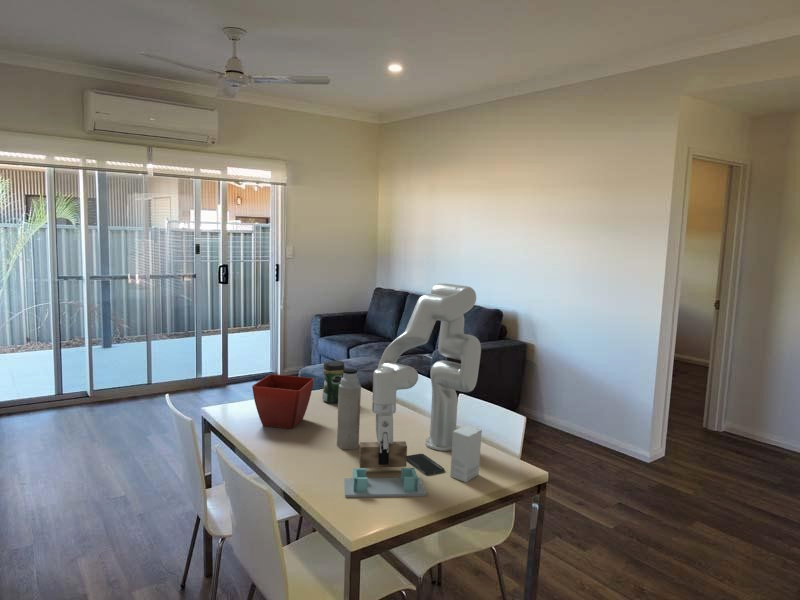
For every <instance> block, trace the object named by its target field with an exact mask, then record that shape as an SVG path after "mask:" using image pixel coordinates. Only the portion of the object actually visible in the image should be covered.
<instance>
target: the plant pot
mask: <svg viewBox="0 0 800 600" xmlns="http://www.w3.org/2000/svg"><path fill="white" fill-rule="evenodd" d="M314 380H315V379H314V378H313V377H306V376H295V375H294V376H293V375H284V374H283V375H282V374H275V373H274V374H273V373H272V374H268V375H267V376H266V377H263V378H262V379H260V380H259V381H257V382H256V383H255V384H253V385H251V388H252V395H253V400H254V403H255V407H256V411H257V414H258V417H259V420H260V423H261V425H262V426H263V427H270V428H281V429H289V430H292V429H294V428H295V427H297V426H298V424H300V422H301V421H303V419H304V417H305V415H306V412H307V410H308V406H309V403H310V399H311V397H312V396H311V395H312V390H313V386H314Z"/></svg>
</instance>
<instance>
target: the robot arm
mask: <svg viewBox="0 0 800 600" xmlns="http://www.w3.org/2000/svg"><path fill="white" fill-rule="evenodd" d="M476 302H477V294H476V291H475V289H474V288H473V287H471V286H467V285H460V284H452V283H437V284H434V285H433V286H432V288H431V290H430V294H429V293H426V294H422V295H421V296H419V298H418V300H417V302H416V304H415V306H414V309H413V311H412V312H411V316H410V318H409V321H408V323H407V326H406V328H405V330H404V332H403V333H402V334H400V335H399V336H398V337H396V338H395V339H394V340H393V341H392V342H391V343H389V345H388V346H387V347H385V349H384V351H383V354H382V355H381V357H380V360H379V362H378V366H377V368H376V369H374V371H373V375H372V405H371V406H372V407H371V408H372V409H371V410H372V413H373V414H375V434H376V435H375V436H376V442H378V444H379V445H380V452H379V465H388V464H389V452H388V445H389V444H388V443H390V444H391V445H392V444H393V442H394V414H395V413H396V411H397V391H399V390H409V389H412V388H413V387H415V386H416V384H417V383H418V381H419V373H418V371H417V370H416V369H415V368H414V367H412V366H410V365H406V364H402V363H398V359H399V357H401V356H402V354H403V353H405V352H407V351H408V350H411V349H413V348H417V347H420V346H422V345H423V346H424V345H426V344H427V343H428V342H429V340H430V338H431V335H432V333H433V332H432V331H433V329H434V326H435V324H436V322H437V321H440V329H439V334H438V335H439V337H438V343H437V345H438V347H437V350H438V354H440V355H442V356H443V357H445V358H449V359H453V360H459V361H460V362H461V363H458V362H454V361H450V360H438V361H436V362H434V363H433V365H432V366H431V368H430V375H429V376H430V381H431V409H430V424H429V425H430V427H429V428H430V430H429V437H427V438H426V439H425V446H427V448H429V449H433V450H436V451H442V452H443V451H445V452H446V451H447V452H448V451H452V441H453V431H455V430H457V422H458V421H457V420H458V419H457V418H458V406H459V405H458V404H459V400H458V394H457V392H458V391H459V392H463V393H470V392H472V391H474V389H475V387H476V386H477V382H478V377H479V369H480V361H481V355H482V346H481V342H480V340H479V339H478V338H477V336H474V335H472V334H468V333H467V334H466V333H465V331H464V330H465V328H464V327H465V316H464V314H467V312H469V311H470V310H472V308H473V307H474V306H475V304H476ZM456 391H457V392H456ZM381 442H383V443H381ZM382 445H383V447H382Z"/></svg>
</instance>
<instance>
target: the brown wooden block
mask: <svg viewBox="0 0 800 600" xmlns="http://www.w3.org/2000/svg"><path fill="white" fill-rule="evenodd" d="M381 443H383V442H381ZM388 444H389V445H388V452H389V464H388V465H379V452H380V445H379V444H378V441H368V442H367V441H366V442H365V441H364V442H360V441H359V457H358V458H359V468H366V469H375V468H377V469H379V468H407V463H408V462H407V456H408V445H407V442H406V441H402V440H400V441H399V440H398V441H393V444H392V445H391V444H390V443H388ZM382 447H383V445H382Z"/></svg>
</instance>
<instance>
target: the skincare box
mask: <svg viewBox="0 0 800 600" xmlns="http://www.w3.org/2000/svg"><path fill="white" fill-rule="evenodd" d="M482 432H483V430H482V429H481V428H478V427H474V426H471V425H467V424H465V425H463V426H461V427H459V428H456V430H455V431H453V441H452V450H451V456H450V457H451V459H450V473H449V474H450V475H449V476H450V478H453V479H455V480H459V481H461V482H464V483H468V482H469V481H470V480H473V479H474V478H476V477H478V476H479V475H480V474H479V473H480V459H481V446H482V435H483V434H482Z"/></svg>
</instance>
